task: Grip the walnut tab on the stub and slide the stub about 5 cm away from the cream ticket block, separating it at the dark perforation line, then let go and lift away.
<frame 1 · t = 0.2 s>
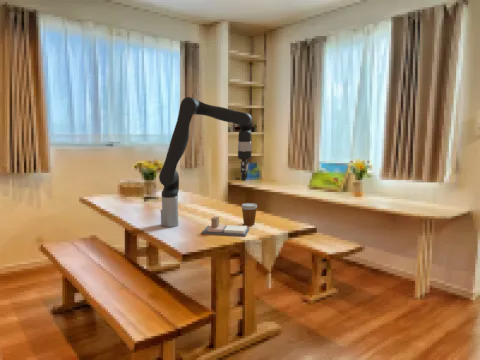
hand: (244, 179, 195), 28 cm above the table, fingers open, 8 cm apart
disposable coffee cup: (249, 224, 209), on the table
ticket base: (225, 231, 193), on the table
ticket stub: (217, 223, 194), point 4 cm above the table, slide at 0.0 cm
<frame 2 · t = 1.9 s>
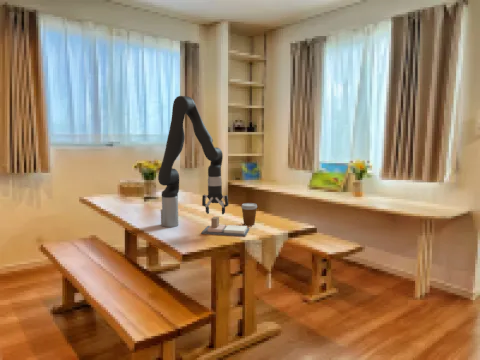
hand: (215, 213, 193), 10 cm above the table, fingers open, 8 cm apart
nothing on the table moved.
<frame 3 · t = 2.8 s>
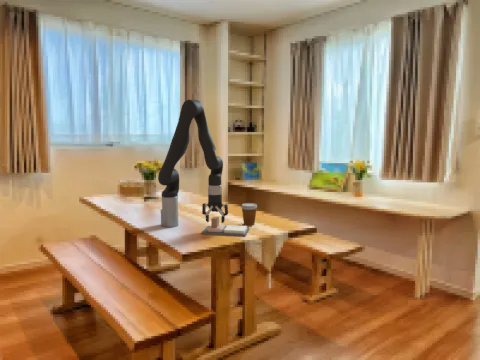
hand: (215, 222, 194), 5 cm above the table, fingers open, 8 cm apart
nothing on the table moved.
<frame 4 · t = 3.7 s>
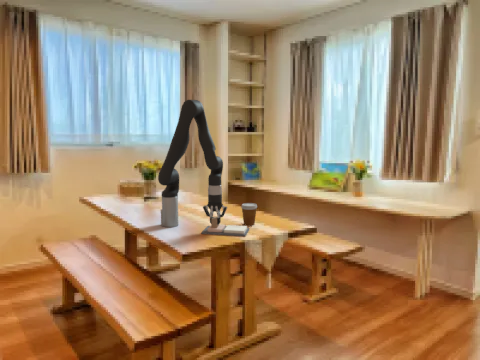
hand: (215, 223, 194), 4 cm above the table, fingers closed on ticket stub, 3 cm apart
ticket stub: (216, 223, 194), point 4 cm above the table, slide at 0.0 cm, touching gripper
everything else where it was.
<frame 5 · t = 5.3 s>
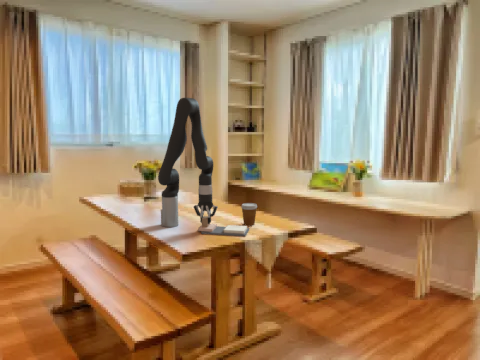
hand: (205, 223, 195), 4 cm above the table, fingers closed on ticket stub, 3 cm apart
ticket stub: (207, 223, 195), point 4 cm above the table, slide at 5.4 cm, touching gripper
everything else where it was.
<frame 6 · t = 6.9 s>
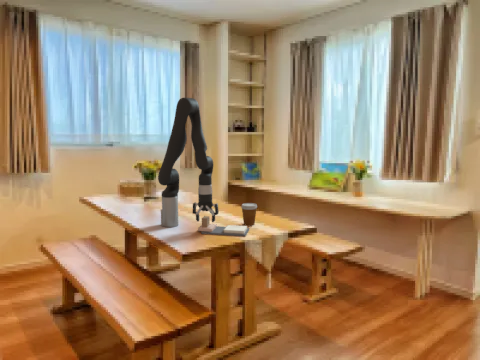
hand: (205, 221, 195), 5 cm above the table, fingers open, 8 cm apart
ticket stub: (207, 223, 195), point 4 cm above the table, slide at 5.5 cm
everything else where it was.
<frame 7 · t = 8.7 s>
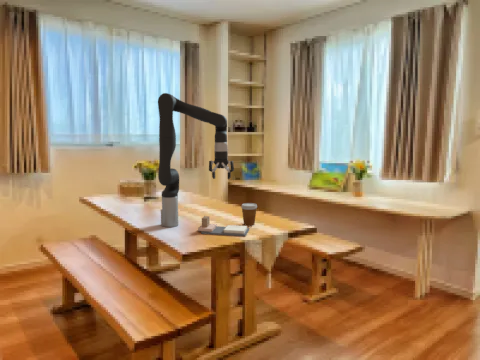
hand: (221, 178, 202), 28 cm above the table, fingers open, 8 cm apart
nothing on the table moved.
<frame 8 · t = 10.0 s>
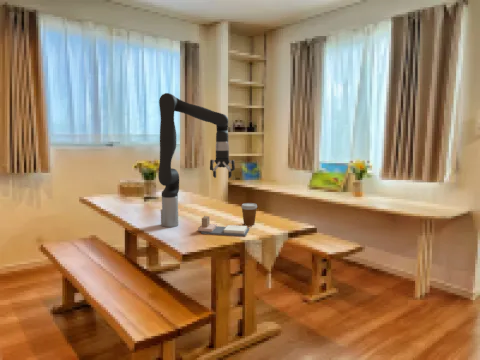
hand: (222, 177, 203), 28 cm above the table, fingers open, 8 cm apart
nothing on the table moved.
at the end: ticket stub slide at 5.5 cm; the gripper is holding nothing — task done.
